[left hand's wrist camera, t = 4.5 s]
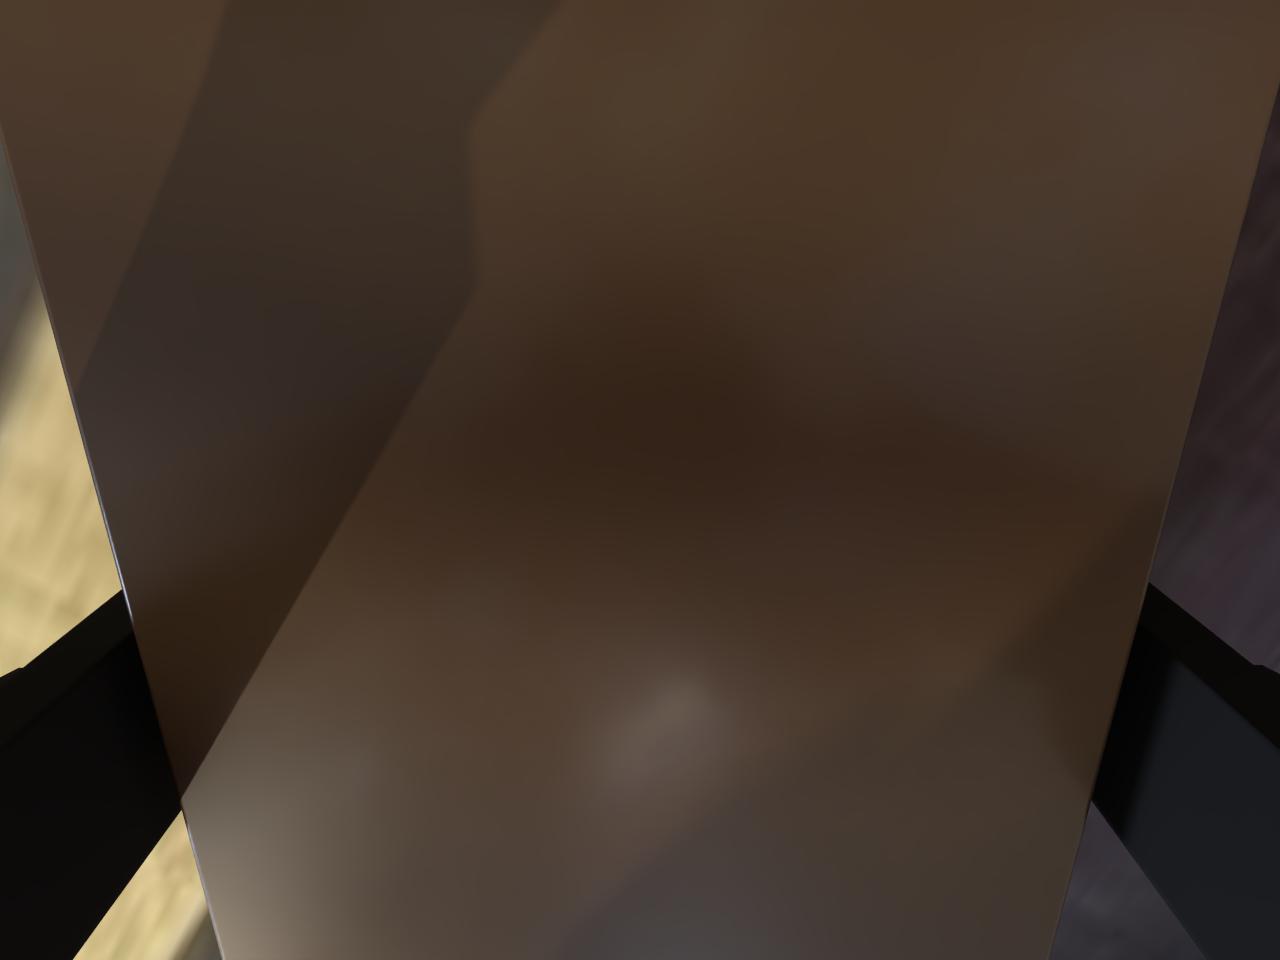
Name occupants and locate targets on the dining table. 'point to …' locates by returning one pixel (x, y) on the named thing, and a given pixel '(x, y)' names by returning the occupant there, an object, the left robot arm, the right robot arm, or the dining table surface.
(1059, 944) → the dining table surface
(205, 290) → the cabinet
